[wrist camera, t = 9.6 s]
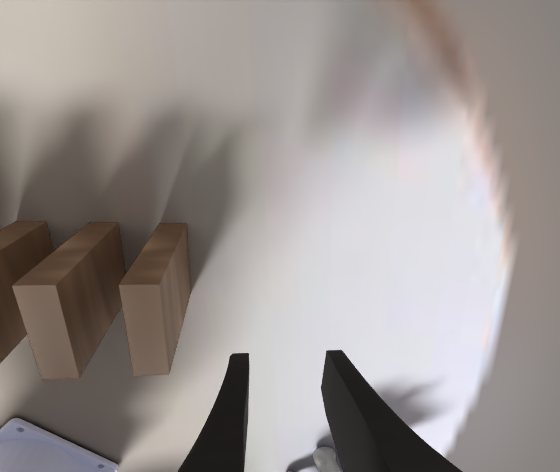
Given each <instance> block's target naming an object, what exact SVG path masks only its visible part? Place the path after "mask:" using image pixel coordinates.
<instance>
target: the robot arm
mask: <svg viewBox="0 0 560 472" xmlns="http://www.w3.org/2000/svg"><path fill="white" fill-rule="evenodd" d="M321 391H322V396H323V402H324V407H325V412H326V416H327V420H328V423H329V427H330V430H331V433H332V437H333V440H334V443H335V446H336V450H337V453H338V456H339V460H340V463H341V466H342V469H343V472H462V471H461V470H460V469H458V468H457V467H456V466H454V465H453V464H452V463H450V462H449V461H448V460H447V459H446V458H444V457H443V456H442V455H441V454H439V453H438V452H437V451H436V450H434V449H433V448H432V447H431V446H429V445H428V444H427V443H426V442H425V441H424V440H423V439H421V438H420V437H419V436H418V435H417V434H416V433H415V432H414V431H413V430H412V429H411V428H409V427H408V426H407V425H406V424H405V423H404V422H403V421H402V420H401V419H400V418H399V417H398V416H397V415H396V414H395V413H394V412H393V410H392V409H391V408H390V407H389V406H388V405H387V404H386V403H385V402H384V401H383V400H382V399H381V398H380V396H379V395H378V394H377V393H376V392H375V391H374V389H373V388H372V387H371V386H370V385H369V384H368V382H367V381H366V380H365V379H364V378H363V376H362V375H361V374H360V373H359V371H358V370H357V369H356V368H355V366H354V365H353V364H352V363H351V361H350V360H349V359H348V357H347V356H346V355H345V353H344V352H343V351H342V350H329V351H326V358H325V365H324V372H323V378H322V385H321ZM248 398H249V353H236V354H232V355H231V356H230V359H229V364H228V368H227V372H226V375H225V378H224V381H223V384H222V386H221V389H220V391H219V394H218V396H217V399H216V401H215V404H214V406H213V408H212V410H211V412H210V414H209V416H208V419H207V421H206V423H205V425H204V427H203V429H202V431H201V433H200V434H199V436H198V438H197V440H196V442H195V444H194V445H193V447H192V449H191V451H190V452H189V454H188V456H187V457H186V459H185V461H184V462H183V464H182V465H181V467H180V469H179V470H178V472H244V464H245V451H246V439H247V425H248ZM118 467H119V466H118V465H117V464H116V463H114V462H111V461H109V460H107V459H105V458H103V457H101V456H99V455H97V454H94V453H92V452H90V451H88V450H86V449H84V448H82V447H80V446H77V445H75V444H73V443H71V442H69V441H67V440H65V439H63V438H60V437H58V436H56V435H54V434H52V433H50V432H48V431H45V430H43V429H41V428H39V427H37V426H35V425H33V424H31V423H28V422H26V421H24V420H22V419H19V418H13V419H11V420H10V421H9V422H8V423H6V424H5V425H4V426H3V427H2V428H1V429H0V472H117V471H118Z"/></svg>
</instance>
